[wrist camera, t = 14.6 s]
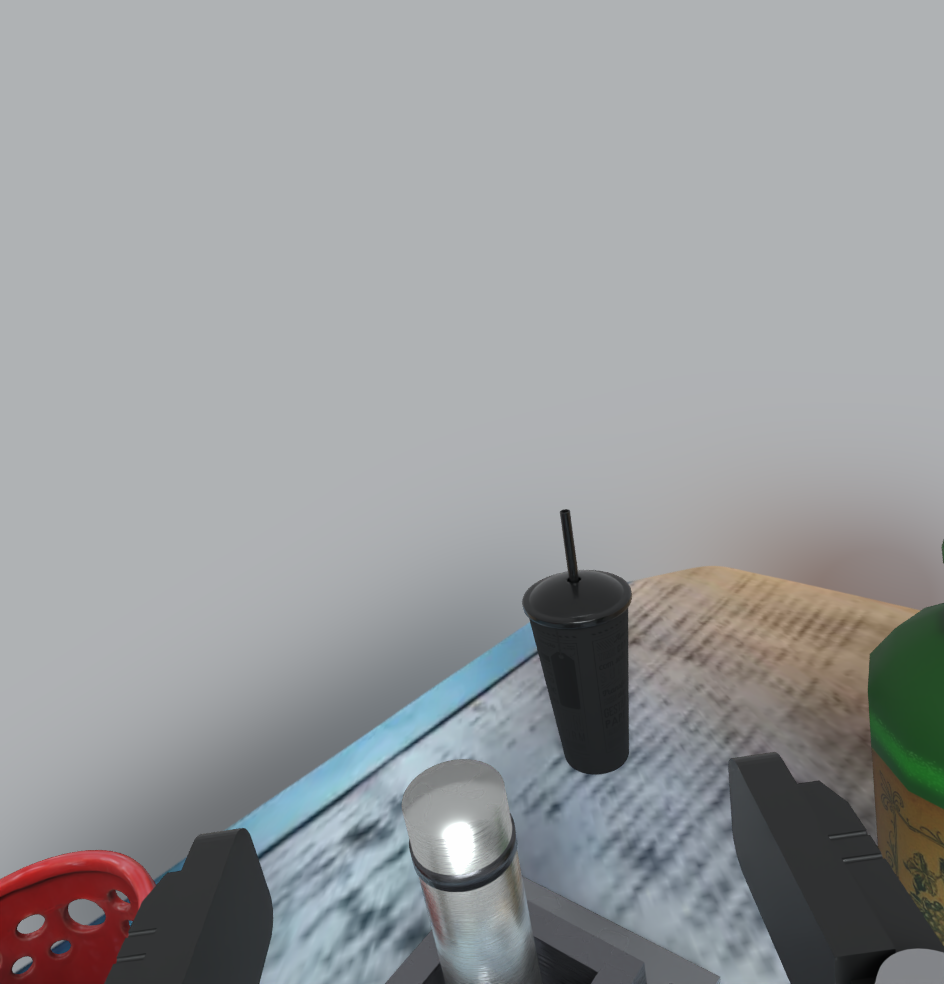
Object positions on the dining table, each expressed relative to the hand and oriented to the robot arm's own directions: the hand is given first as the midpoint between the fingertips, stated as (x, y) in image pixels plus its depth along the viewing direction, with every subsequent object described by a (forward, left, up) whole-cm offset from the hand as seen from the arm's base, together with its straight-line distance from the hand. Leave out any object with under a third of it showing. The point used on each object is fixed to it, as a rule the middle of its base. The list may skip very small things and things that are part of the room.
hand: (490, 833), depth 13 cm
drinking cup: (-33, -21, -30) cm, 49 cm away
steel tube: (-10, -13, -29) cm, 33 cm away
